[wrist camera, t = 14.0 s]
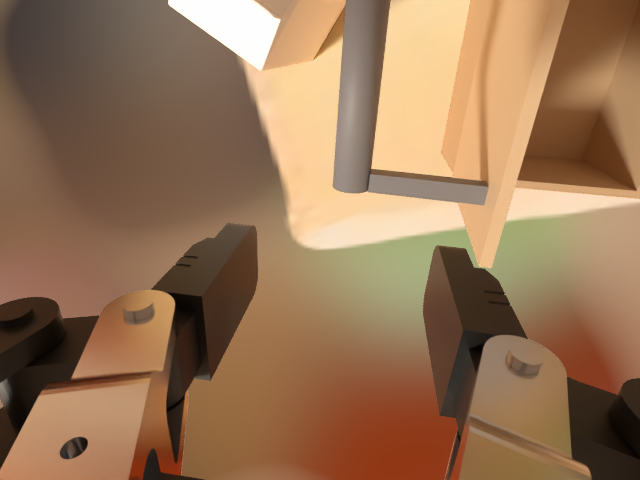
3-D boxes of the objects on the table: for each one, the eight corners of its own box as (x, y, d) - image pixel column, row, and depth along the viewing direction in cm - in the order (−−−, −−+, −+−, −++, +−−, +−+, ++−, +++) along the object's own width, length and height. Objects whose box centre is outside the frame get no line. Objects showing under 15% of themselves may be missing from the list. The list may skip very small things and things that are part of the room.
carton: (476, -33, 33) (512, -61, 25) (651, -26, 32) (756, -54, 23) (441, 152, 41) (458, 182, 32) (582, 164, 39) (642, 199, 30)
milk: (293, -40, 35) (184, -156, 15) (348, 2, 36) (311, -56, 16) (260, 24, 38) (132, -4, 18) (312, 63, 38) (243, 75, 19)
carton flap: (512, -61, 24) (375, -64, 26) (620, -173, 12) (346, -166, 13) (458, 182, 32) (353, 171, 33) (491, 267, 19) (322, 244, 21)
